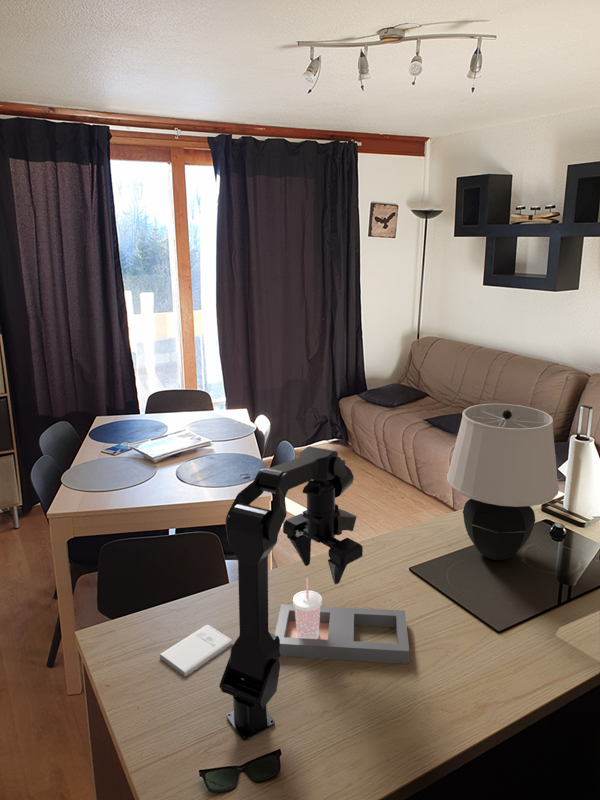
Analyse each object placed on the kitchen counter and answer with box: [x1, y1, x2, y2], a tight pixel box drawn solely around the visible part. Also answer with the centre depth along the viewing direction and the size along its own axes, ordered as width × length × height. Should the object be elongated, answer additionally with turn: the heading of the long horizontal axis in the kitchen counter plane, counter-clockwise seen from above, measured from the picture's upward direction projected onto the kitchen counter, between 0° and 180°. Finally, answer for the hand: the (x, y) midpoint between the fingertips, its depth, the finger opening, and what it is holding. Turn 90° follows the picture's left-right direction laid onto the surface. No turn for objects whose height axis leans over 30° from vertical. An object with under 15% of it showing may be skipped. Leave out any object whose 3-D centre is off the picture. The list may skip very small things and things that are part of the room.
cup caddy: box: [274, 603, 410, 665], centre depth 124 cm, size 27×13×3 cm, turn 84°
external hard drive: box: [159, 624, 233, 677], centre depth 122 cm, size 2×8×12 cm
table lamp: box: [446, 403, 560, 561], centre depth 150 cm, size 27×27×40 cm
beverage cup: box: [292, 576, 323, 639], centre depth 123 cm, size 6×6×14 cm
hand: (321, 574), depth 125 cm, fingers open, 9 cm apart
